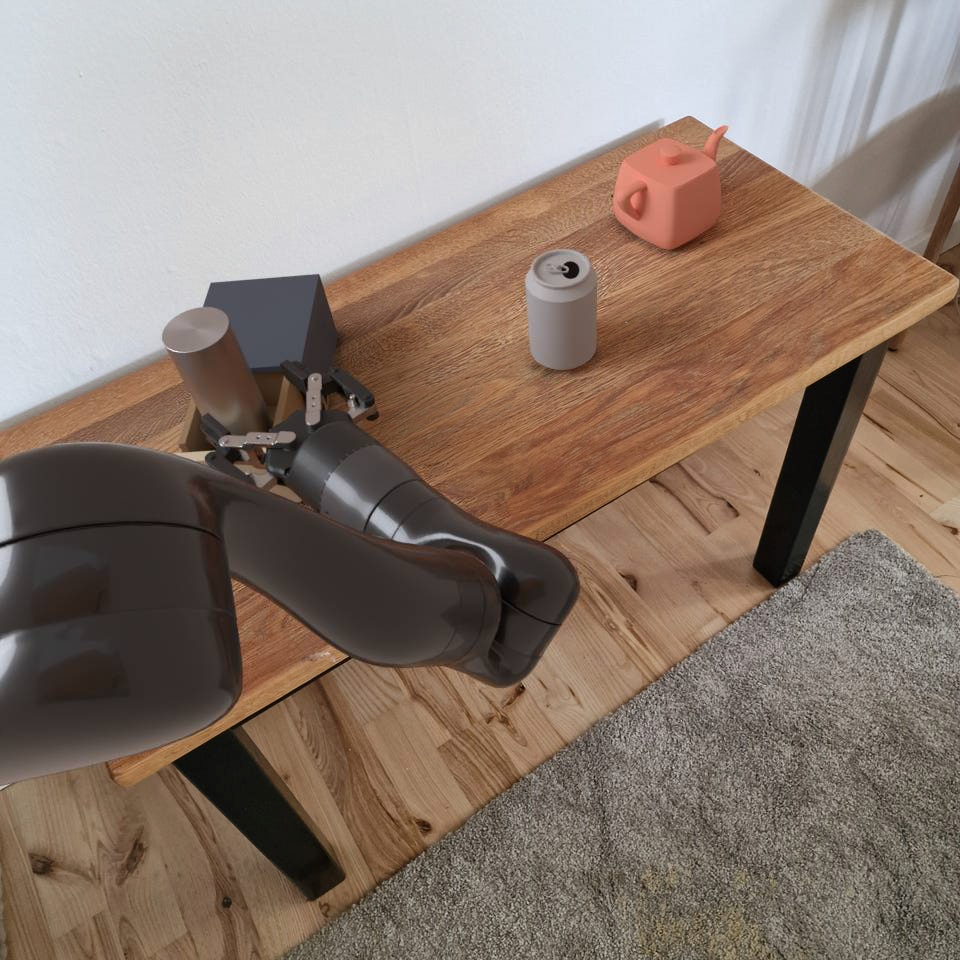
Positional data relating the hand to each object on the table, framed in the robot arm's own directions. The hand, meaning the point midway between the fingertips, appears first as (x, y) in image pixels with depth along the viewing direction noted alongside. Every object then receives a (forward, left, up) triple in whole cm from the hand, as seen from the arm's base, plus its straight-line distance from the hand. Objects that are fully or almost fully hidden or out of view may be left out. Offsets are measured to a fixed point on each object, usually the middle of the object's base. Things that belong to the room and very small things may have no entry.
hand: (246, 394), depth 73 cm
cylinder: (-4, +4, -12) cm, 14 cm away
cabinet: (-4, +17, -14) cm, 22 cm away
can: (+29, +18, -15) cm, 37 cm away
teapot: (+44, +41, -15) cm, 62 cm away
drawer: (-4, +2, -14) cm, 14 cm away
